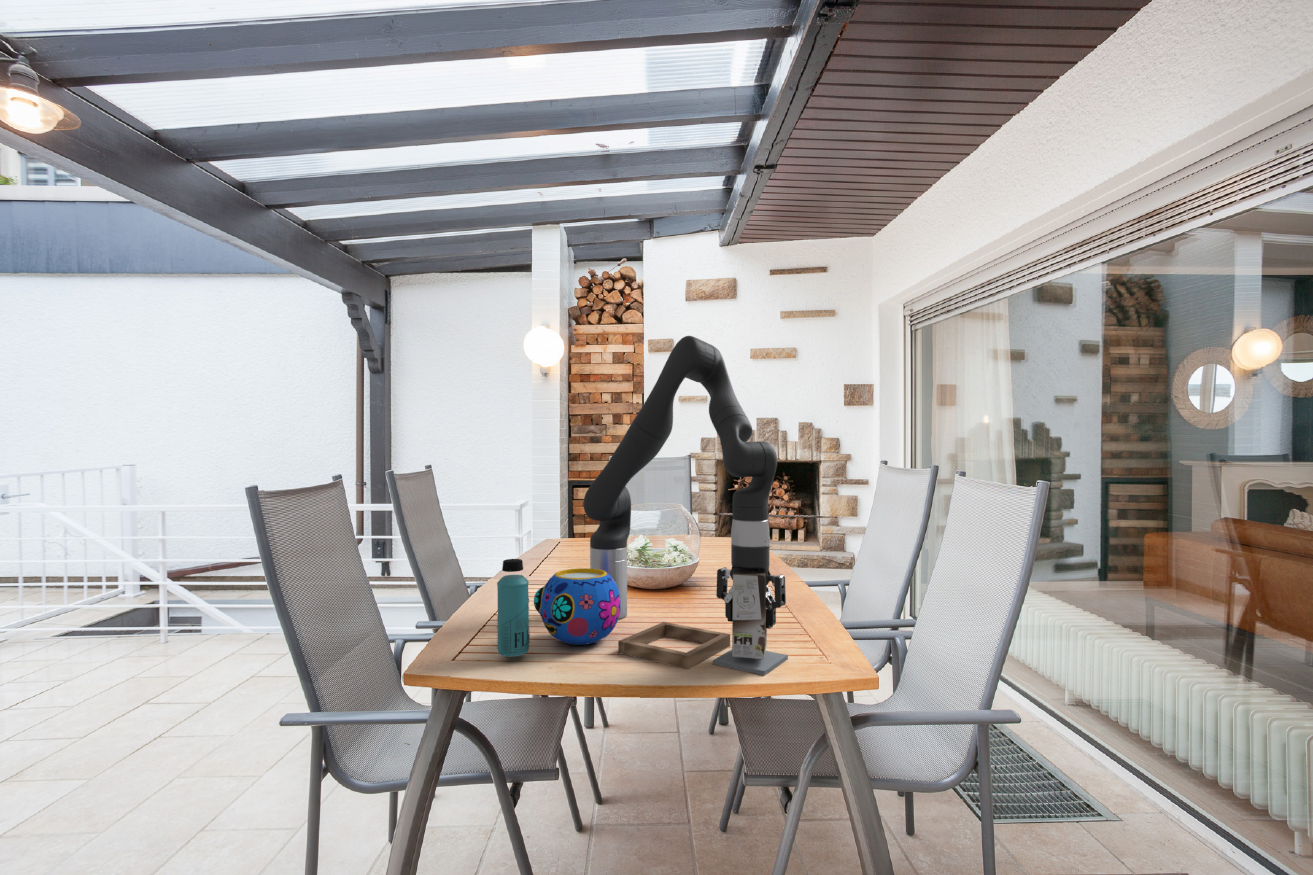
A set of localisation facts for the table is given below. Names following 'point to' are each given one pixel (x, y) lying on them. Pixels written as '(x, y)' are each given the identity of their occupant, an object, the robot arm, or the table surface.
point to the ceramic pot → (579, 605)
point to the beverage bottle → (513, 611)
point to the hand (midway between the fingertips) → (750, 624)
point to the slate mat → (751, 662)
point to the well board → (641, 649)
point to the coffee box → (749, 614)
